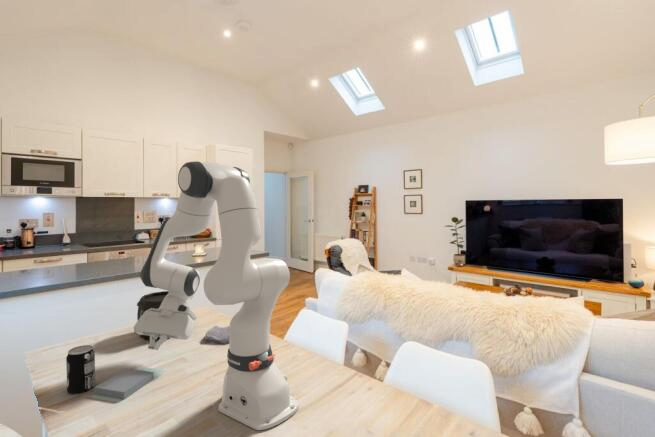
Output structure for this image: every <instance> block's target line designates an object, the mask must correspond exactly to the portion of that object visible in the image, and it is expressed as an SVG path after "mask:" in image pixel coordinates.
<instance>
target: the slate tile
mask: <svg viewBox="0 0 655 437" xmlns="http://www.w3.org/2000/svg"><path fill="white" fill-rule="evenodd" d="M151 380H152V381H154V372H148V371H141V370H135V369H133V368H127V367H126V368H125V369H123V370H121V371H119V372H118V373H116V374H115V375H113V376H111V377H109V378H108V379H106V380H104V381H103V382H101V383H100V384H98V385H96V386H94V395H95V394H97V395H102V396H108V397H114V398H120V399H125V400H127V399H128V398H129V397H131V396H132V395H134V394H135V393H137V392H138V391H139V390H141V389H142V388H144V387H145V386H147V383H148V382H149V383H151V382H152V381H151ZM150 381H151V382H150ZM149 383H148V384H149ZM144 385H145V386H144ZM141 387H142V388H141ZM140 388H141V389H140ZM138 389H139V390H138ZM137 390H138V391H137ZM134 392H135V393H134ZM131 394H132V395H131ZM130 395H131V396H130ZM128 396H129V397H128ZM127 397H128V398H127Z"/></svg>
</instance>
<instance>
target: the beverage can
mask: <svg viewBox="0 0 655 437" xmlns="http://www.w3.org/2000/svg"><path fill="white" fill-rule="evenodd" d="M95 352H96V351H95V350H94V348H93V345H89V344H85V345H79V346H75V347H73V348H70V349H69V350H68V351H67V356H66V357H65V360H66V389H67V390H66V392H67V393H68V394H70V395H79V394H83V393H86V392H88V391H90V390H91V389H94V387H95V385H96V363H95V362H96V357H95V356H96V355H95Z"/></svg>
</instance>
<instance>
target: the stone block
mask: <svg viewBox="0 0 655 437" xmlns="http://www.w3.org/2000/svg"><path fill="white" fill-rule="evenodd" d="M204 340H205V341H207V342H213V343H217V344H229V325H227V326H224V327H223V326H219V325H214V326H213V327H212V328H211V327H210V328H209V329H208V330H207V331H206V333H205V335H204Z"/></svg>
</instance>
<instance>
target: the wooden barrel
mask: <svg viewBox="0 0 655 437" xmlns="http://www.w3.org/2000/svg"><path fill="white" fill-rule="evenodd" d="M168 293H169V291H167V290H164V291H158V292H157V291H155V292H150V293H148V294H145V295H142V296H141V298H140V299H139V301H137V303H136V306H137V317H136V318H137V321H138V320H139V318H140V317H141V316H142V315H143V314H144V312H145V311H146V310H148V309H150V308H154V309H159V307H160V305H161V303H162V302H163V300H164V298H165V296H166V295H167V294H168ZM138 335H139V337H140V338H141V339H143V340H144V341H150V336H149V335H140V334H138ZM159 339H160V337H158V338H157V339H155V341H158V340H159ZM168 339H169V338H167V340H168Z"/></svg>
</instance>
